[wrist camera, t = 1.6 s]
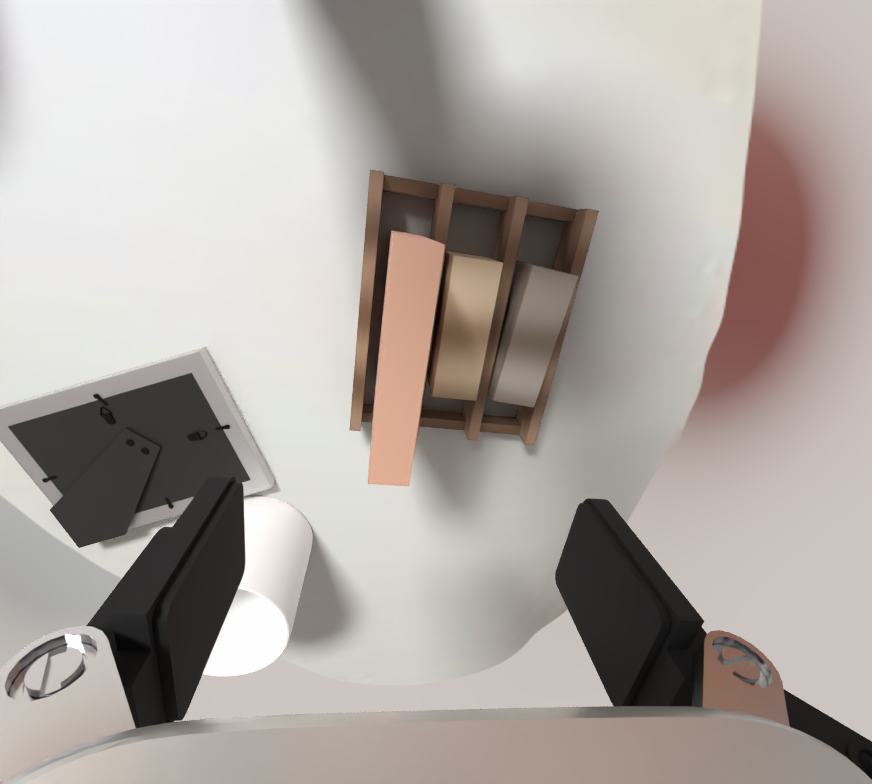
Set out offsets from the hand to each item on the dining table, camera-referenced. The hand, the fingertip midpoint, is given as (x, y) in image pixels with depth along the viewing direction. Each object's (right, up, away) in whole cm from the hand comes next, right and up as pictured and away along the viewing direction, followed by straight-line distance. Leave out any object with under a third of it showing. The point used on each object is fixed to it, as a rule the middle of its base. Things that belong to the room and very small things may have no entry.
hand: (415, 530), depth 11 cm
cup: (-20, -13, +36) cm, 43 cm away
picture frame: (-29, -1, +31) cm, 42 cm away
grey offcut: (+8, +10, +29) cm, 32 cm away
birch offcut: (+2, +11, +28) cm, 30 cm away
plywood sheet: (-3, +12, +27) cm, 30 cm away
